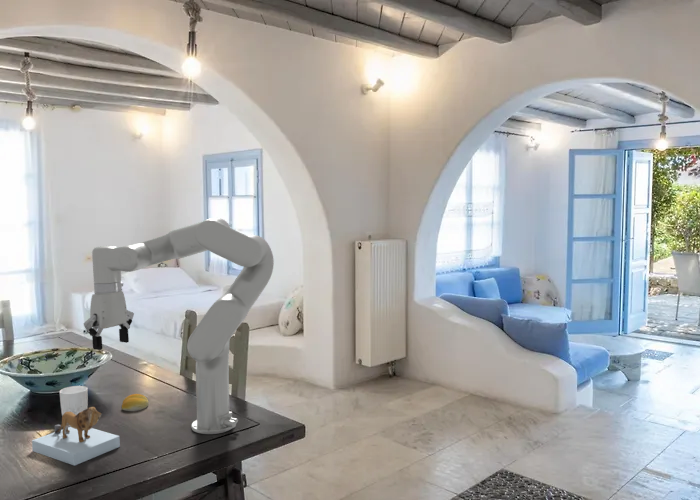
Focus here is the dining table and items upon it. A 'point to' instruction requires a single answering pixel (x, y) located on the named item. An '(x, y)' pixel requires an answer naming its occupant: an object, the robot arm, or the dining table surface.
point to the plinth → (75, 445)
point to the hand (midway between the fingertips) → (111, 345)
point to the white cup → (74, 399)
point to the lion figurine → (80, 422)
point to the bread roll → (135, 402)
